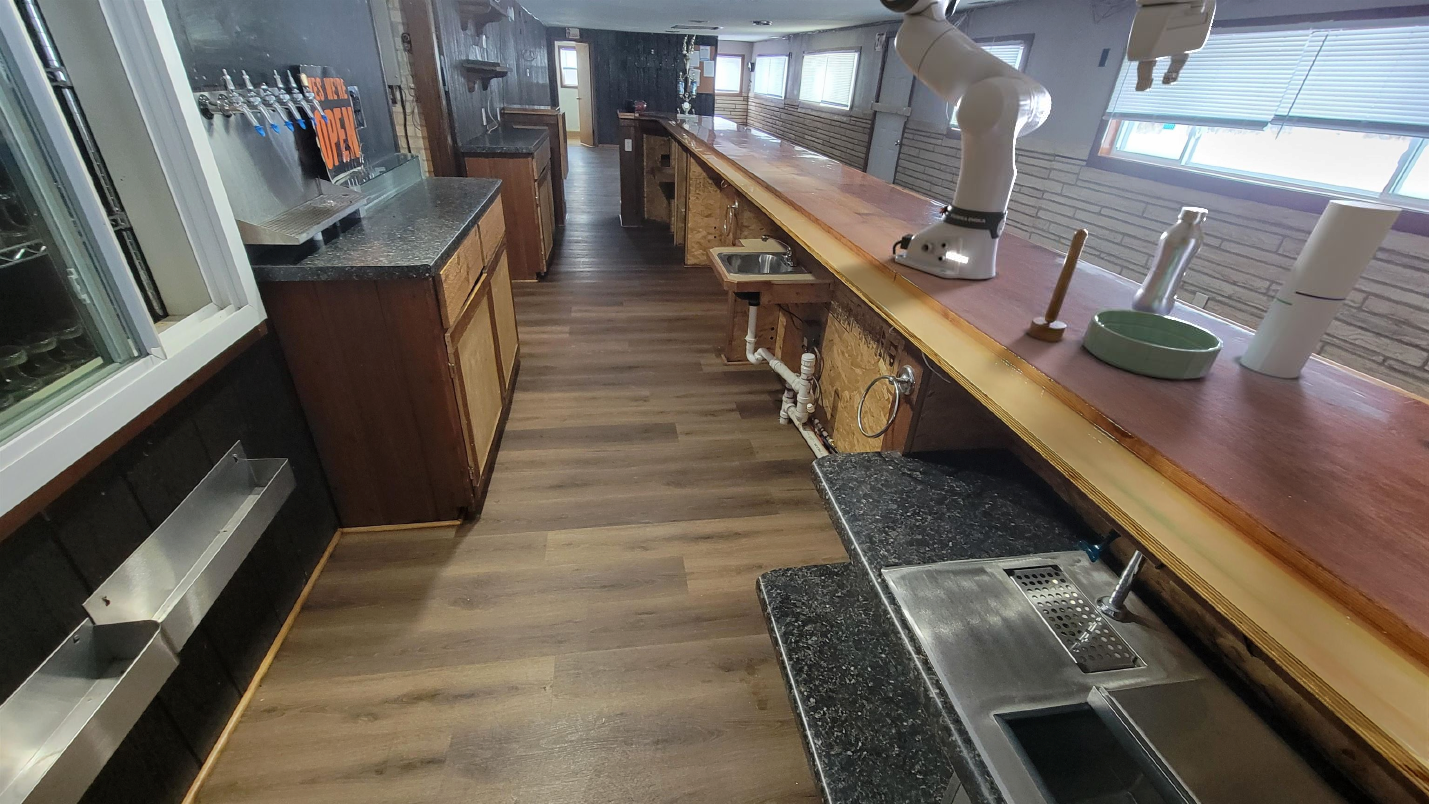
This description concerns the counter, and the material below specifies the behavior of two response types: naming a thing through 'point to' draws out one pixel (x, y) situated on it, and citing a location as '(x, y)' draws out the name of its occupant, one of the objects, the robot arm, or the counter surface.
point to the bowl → (1151, 344)
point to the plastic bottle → (1171, 263)
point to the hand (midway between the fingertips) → (1155, 87)
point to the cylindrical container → (1318, 285)
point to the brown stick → (1059, 294)
